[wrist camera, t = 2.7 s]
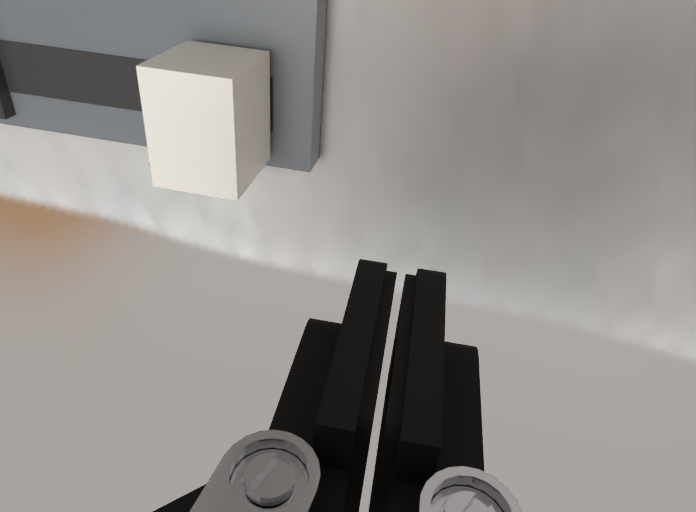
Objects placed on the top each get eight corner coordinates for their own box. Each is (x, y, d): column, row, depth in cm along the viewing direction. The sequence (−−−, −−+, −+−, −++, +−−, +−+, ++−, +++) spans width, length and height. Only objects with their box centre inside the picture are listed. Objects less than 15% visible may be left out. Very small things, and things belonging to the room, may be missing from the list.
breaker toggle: (269, 51, 18) (232, 79, 16) (270, 158, 21) (237, 200, 18) (186, 40, 19) (135, 65, 16) (196, 147, 21) (153, 186, 18)
